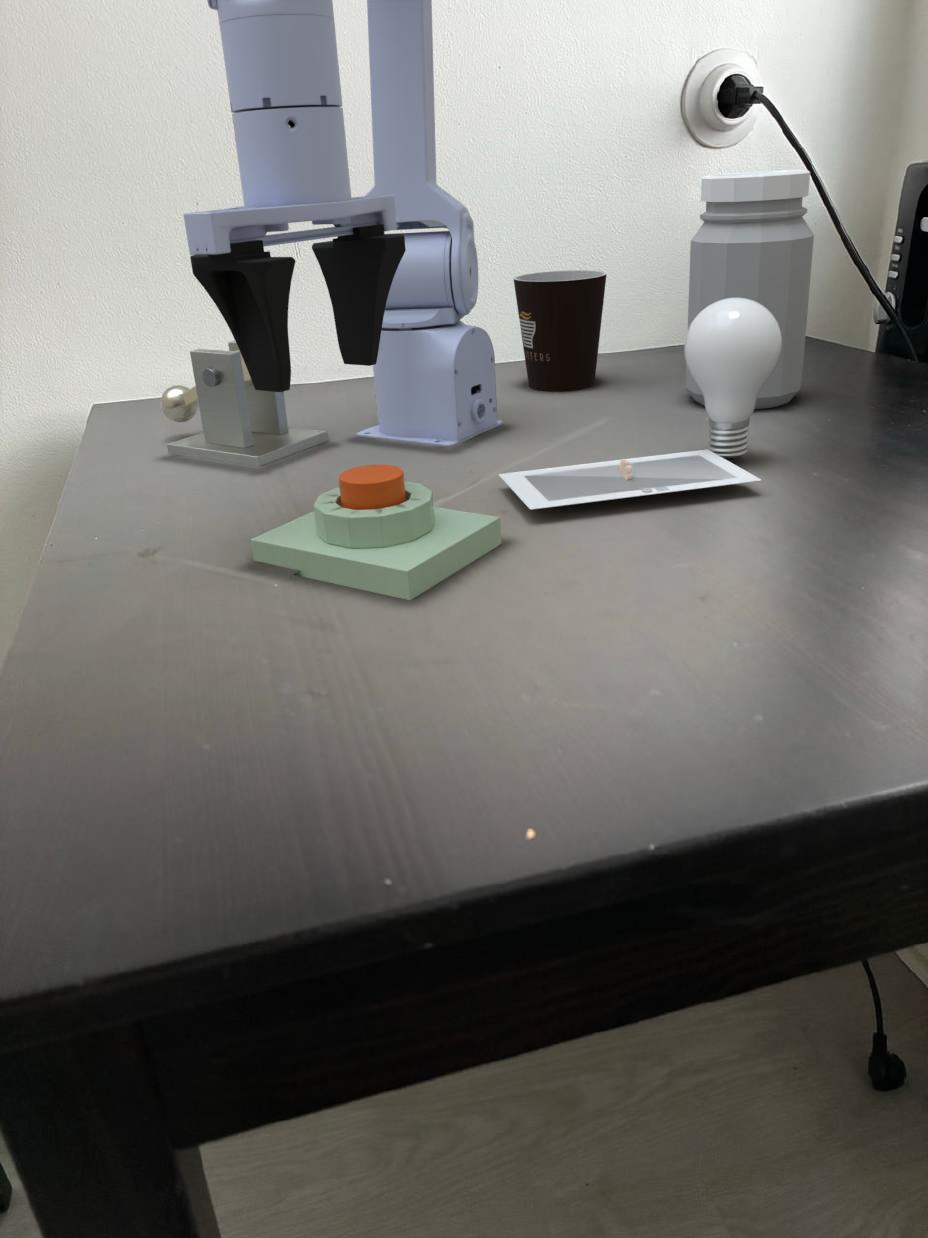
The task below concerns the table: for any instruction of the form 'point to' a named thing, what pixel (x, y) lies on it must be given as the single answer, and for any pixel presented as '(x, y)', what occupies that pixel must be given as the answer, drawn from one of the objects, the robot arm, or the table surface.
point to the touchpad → (624, 478)
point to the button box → (380, 543)
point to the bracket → (239, 416)
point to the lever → (187, 399)
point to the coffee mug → (560, 327)
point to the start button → (372, 487)
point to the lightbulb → (732, 366)
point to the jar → (756, 262)
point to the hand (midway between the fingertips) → (318, 376)
